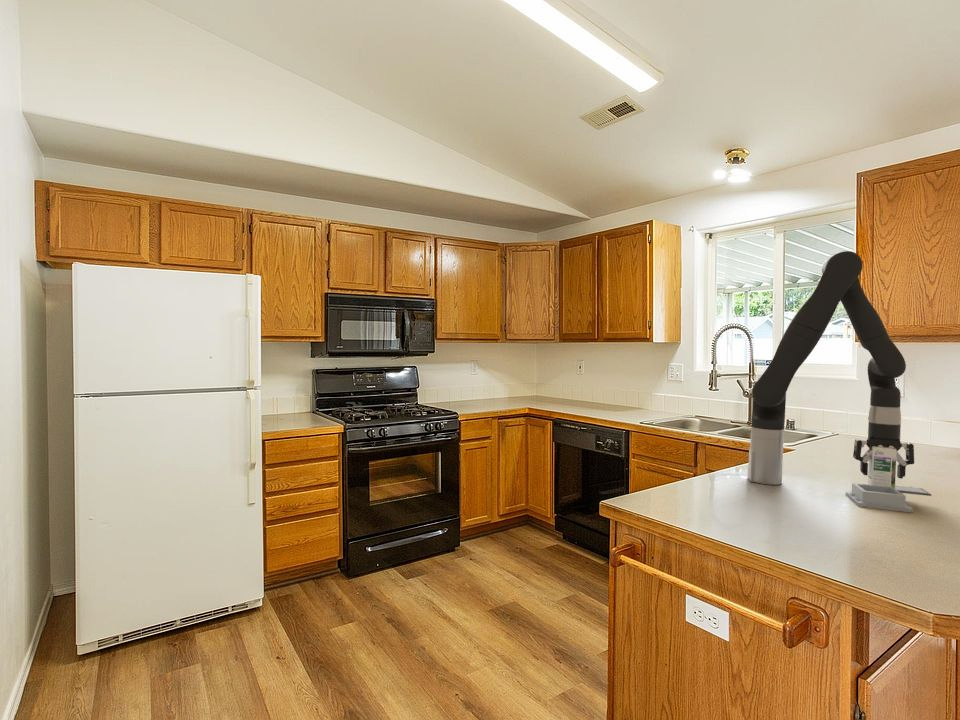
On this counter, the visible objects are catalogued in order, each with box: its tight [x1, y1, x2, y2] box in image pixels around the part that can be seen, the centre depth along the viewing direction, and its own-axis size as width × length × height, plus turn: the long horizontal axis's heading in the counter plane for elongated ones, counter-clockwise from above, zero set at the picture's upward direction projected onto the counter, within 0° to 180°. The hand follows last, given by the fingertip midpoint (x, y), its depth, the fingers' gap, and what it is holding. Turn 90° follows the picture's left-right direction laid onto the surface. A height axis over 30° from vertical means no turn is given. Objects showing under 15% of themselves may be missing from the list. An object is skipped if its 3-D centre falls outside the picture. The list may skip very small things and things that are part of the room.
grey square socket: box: [845, 482, 913, 513], centre depth 147 cm, size 12×12×4 cm
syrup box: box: [867, 446, 898, 488], centre depth 156 cm, size 6×6×14 cm
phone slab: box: [895, 485, 932, 496], centre depth 163 cm, size 7×13×1 cm, turn 69°
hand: (882, 476), depth 156 cm, fingers open, 8 cm apart
